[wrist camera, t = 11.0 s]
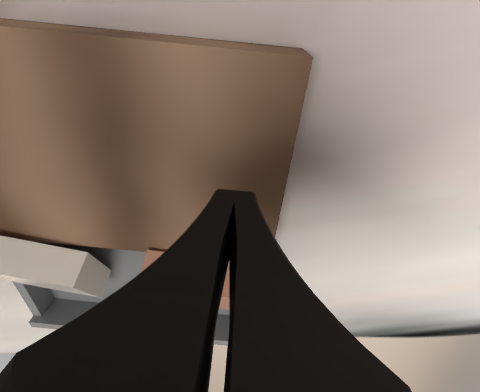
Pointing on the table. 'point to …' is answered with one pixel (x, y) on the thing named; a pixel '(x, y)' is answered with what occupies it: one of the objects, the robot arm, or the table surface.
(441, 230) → the table surface
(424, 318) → the table surface
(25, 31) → the walnut board
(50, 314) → the box
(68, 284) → the ivory tile
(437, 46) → the table surface
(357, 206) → the table surface
